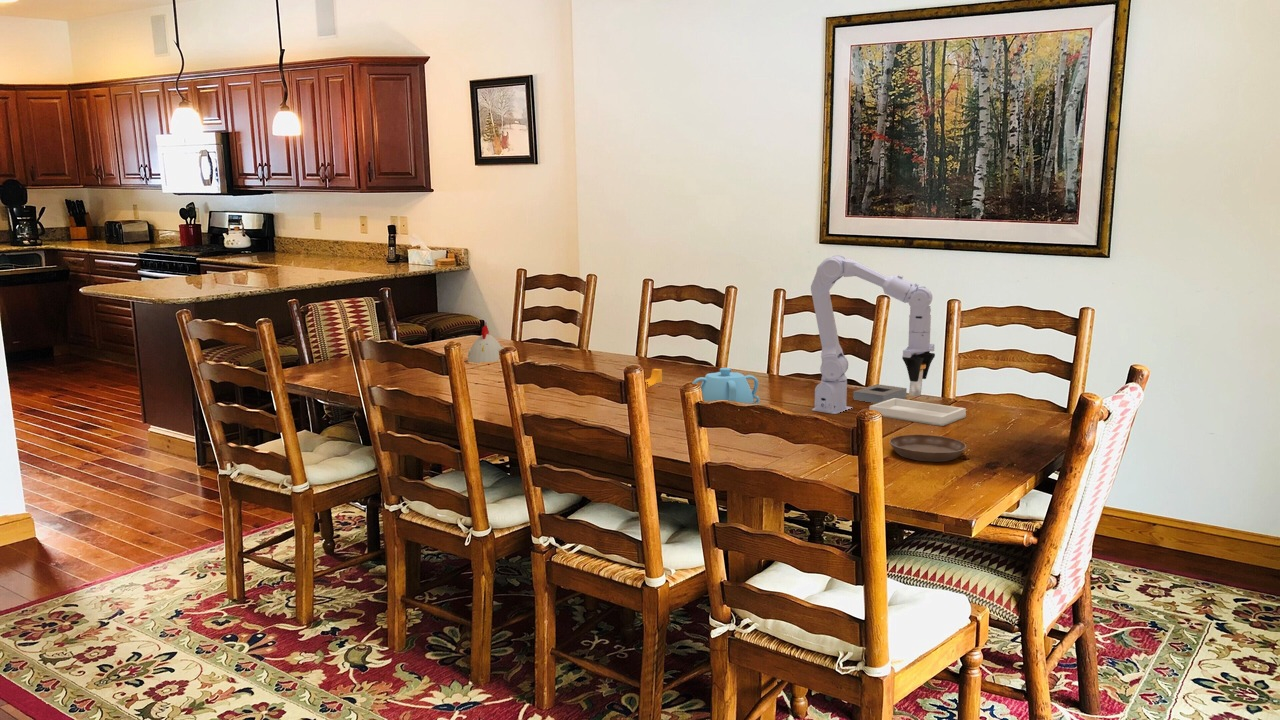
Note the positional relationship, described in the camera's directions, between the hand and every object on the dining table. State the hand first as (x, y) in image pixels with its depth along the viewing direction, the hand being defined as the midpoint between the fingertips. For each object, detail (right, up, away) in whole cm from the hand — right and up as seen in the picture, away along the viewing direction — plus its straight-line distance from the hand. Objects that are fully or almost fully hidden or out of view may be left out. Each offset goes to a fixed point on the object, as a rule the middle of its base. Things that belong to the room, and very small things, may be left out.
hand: (917, 379), depth 277 cm
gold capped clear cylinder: (0, -4, +2) cm, 4 cm away
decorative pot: (-53, -10, +6) cm, 54 cm away
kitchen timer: (-134, +3, +91) cm, 162 cm away
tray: (0, -10, +2) cm, 10 cm away
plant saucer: (-8, -17, -38) cm, 42 cm away
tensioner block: (-5, -6, +24) cm, 25 cm away
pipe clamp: (-75, -5, +41) cm, 86 cm away
